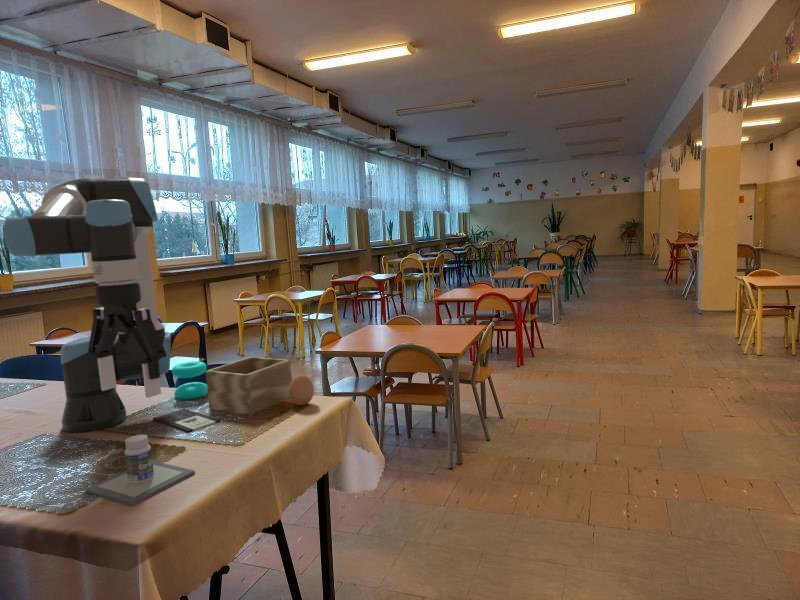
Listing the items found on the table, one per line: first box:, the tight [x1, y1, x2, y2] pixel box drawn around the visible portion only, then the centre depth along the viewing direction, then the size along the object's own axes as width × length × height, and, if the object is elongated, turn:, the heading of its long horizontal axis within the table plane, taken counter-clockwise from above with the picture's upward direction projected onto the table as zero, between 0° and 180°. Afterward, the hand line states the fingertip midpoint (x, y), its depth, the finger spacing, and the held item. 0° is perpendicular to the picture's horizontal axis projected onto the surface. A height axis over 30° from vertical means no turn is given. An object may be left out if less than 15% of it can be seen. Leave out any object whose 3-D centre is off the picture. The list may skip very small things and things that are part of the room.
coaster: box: [84, 460, 196, 506], centre depth 105 cm, size 14×14×1 cm
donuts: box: [171, 360, 208, 401], centre depth 164 cm, size 10×10×10 cm
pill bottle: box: [123, 434, 154, 484], centre depth 105 cm, size 5×5×8 cm
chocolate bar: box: [152, 408, 221, 433], centre depth 141 cm, size 9×1×18 cm
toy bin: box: [204, 356, 293, 416], centre depth 153 cm, size 16×18×11 cm
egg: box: [289, 373, 315, 407], centre depth 148 cm, size 7×7×9 cm
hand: (130, 392), depth 103 cm, fingers open, 13 cm apart
